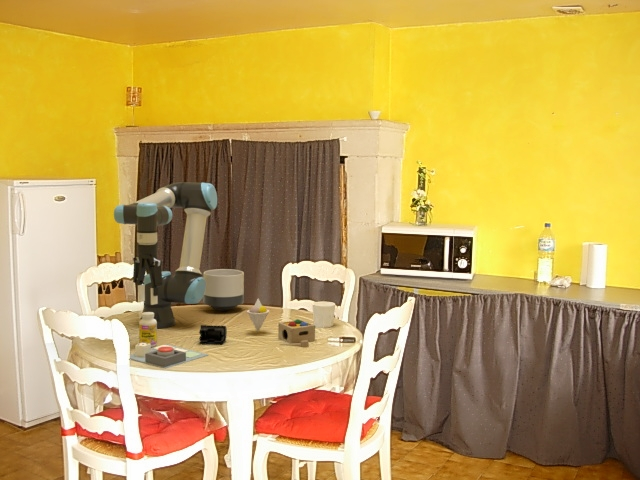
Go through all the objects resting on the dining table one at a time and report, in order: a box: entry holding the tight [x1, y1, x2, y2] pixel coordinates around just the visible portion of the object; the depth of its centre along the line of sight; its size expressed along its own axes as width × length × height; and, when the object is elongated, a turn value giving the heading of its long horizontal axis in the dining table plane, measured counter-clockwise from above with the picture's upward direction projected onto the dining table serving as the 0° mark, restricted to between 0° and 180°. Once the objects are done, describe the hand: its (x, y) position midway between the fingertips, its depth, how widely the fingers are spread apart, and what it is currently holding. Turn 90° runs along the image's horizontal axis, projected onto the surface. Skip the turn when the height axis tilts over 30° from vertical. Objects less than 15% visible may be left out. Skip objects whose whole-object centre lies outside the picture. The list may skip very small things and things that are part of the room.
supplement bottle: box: [138, 312, 158, 348], centre depth 270 cm, size 7×7×13 cm
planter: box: [202, 268, 245, 311], centre depth 337 cm, size 19×19×18 cm
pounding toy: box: [277, 318, 316, 348], centre depth 279 cm, size 18×17×8 cm
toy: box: [246, 297, 270, 333], centre depth 292 cm, size 9×9×15 cm
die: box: [134, 342, 152, 357], centre depth 255 cm, size 4×4×4 cm
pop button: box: [157, 347, 174, 357], centre depth 249 cm, size 6×6×4 cm
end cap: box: [198, 324, 228, 346], centre depth 277 cm, size 10×7×7 cm
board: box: [129, 343, 209, 369], centre depth 256 cm, size 22×21×1 cm
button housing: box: [145, 350, 186, 368], centre depth 249 cm, size 10×10×3 cm
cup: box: [311, 301, 336, 329], centre depth 307 cm, size 10×10×10 cm
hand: (147, 302), depth 268 cm, fingers open, 7 cm apart
